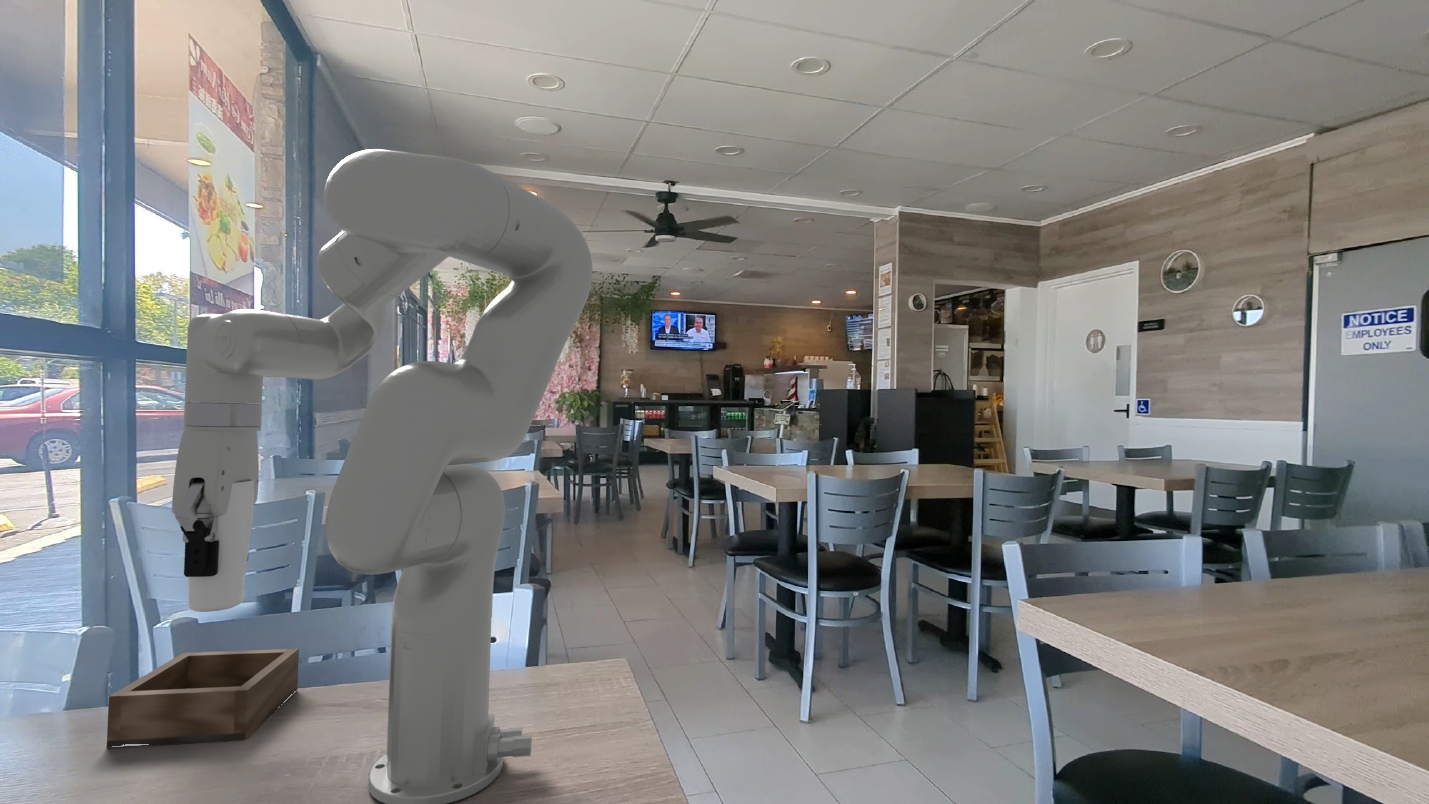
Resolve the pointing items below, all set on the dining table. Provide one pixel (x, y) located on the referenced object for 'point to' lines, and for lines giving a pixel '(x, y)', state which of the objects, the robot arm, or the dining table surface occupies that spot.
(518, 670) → the dining table surface
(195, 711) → the caddy
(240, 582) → the drinking glass
